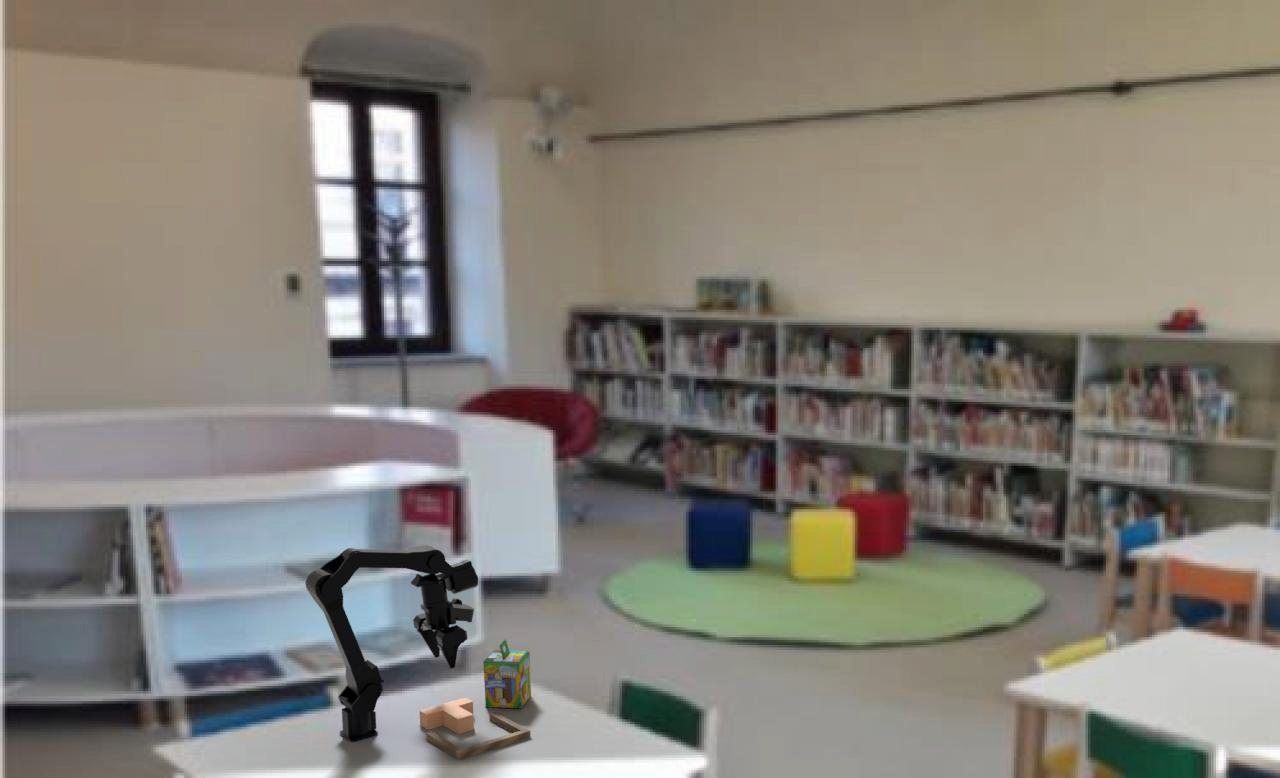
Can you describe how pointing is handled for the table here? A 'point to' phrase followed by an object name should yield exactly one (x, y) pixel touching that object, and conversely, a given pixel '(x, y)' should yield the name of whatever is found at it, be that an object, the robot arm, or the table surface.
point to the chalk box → (507, 678)
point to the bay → (460, 754)
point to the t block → (449, 716)
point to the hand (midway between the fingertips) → (444, 662)
